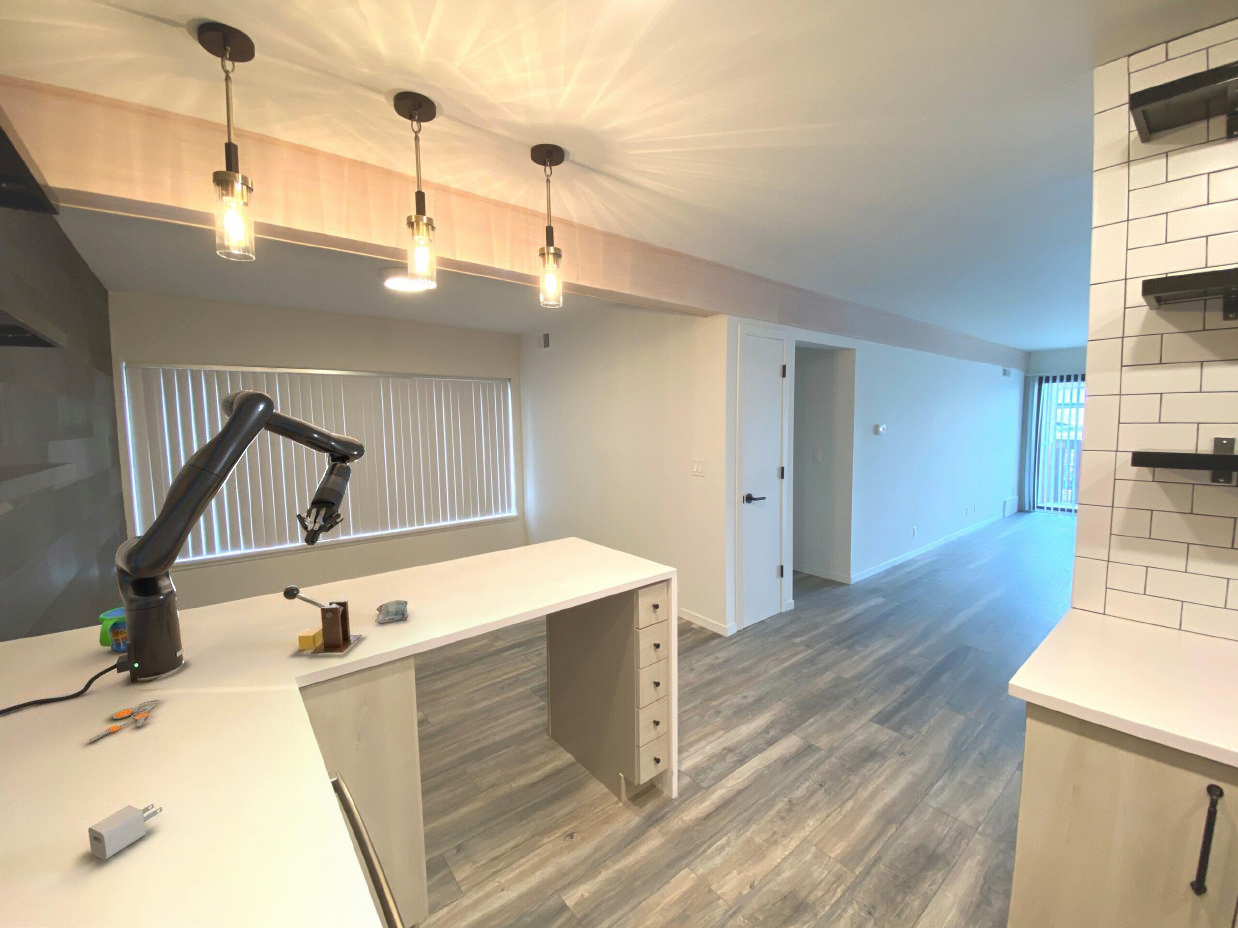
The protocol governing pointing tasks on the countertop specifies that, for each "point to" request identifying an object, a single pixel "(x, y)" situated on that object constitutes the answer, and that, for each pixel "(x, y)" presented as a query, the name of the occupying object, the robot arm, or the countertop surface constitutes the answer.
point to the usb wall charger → (119, 830)
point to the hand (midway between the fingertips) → (309, 543)
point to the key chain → (139, 716)
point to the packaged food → (392, 611)
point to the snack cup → (113, 630)
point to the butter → (310, 638)
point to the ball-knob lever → (304, 597)
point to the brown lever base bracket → (335, 629)
